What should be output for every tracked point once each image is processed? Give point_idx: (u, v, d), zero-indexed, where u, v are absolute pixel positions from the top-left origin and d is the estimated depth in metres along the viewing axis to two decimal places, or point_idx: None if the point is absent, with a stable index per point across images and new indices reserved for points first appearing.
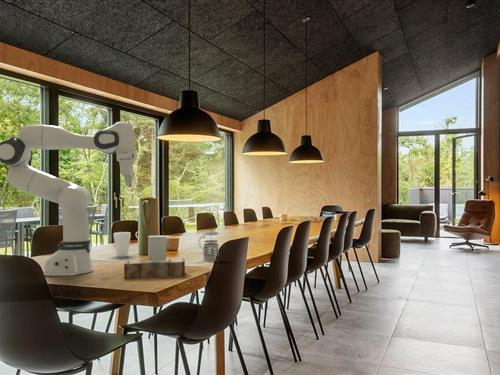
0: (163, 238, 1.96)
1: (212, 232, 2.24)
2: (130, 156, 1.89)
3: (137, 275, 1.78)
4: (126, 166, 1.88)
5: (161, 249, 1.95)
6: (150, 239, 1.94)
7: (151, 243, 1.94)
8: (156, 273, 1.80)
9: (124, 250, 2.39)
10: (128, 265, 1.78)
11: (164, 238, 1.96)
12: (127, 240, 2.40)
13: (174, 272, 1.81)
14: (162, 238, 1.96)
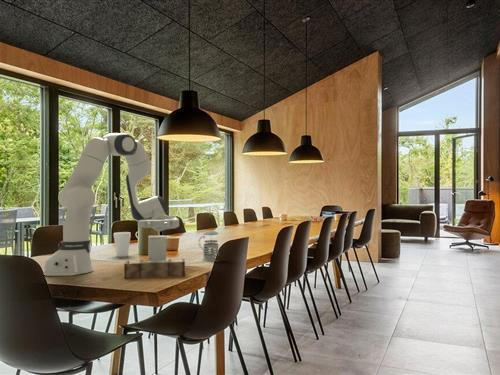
0: (163, 238, 1.96)
1: (212, 232, 2.24)
2: (176, 226, 2.20)
3: (137, 275, 1.78)
4: None
5: (161, 249, 1.95)
6: (150, 239, 1.94)
7: (151, 243, 1.94)
8: (156, 273, 1.80)
9: (124, 250, 2.39)
10: (128, 265, 1.78)
11: (164, 238, 1.96)
12: (127, 240, 2.40)
13: (174, 272, 1.81)
14: (162, 238, 1.96)
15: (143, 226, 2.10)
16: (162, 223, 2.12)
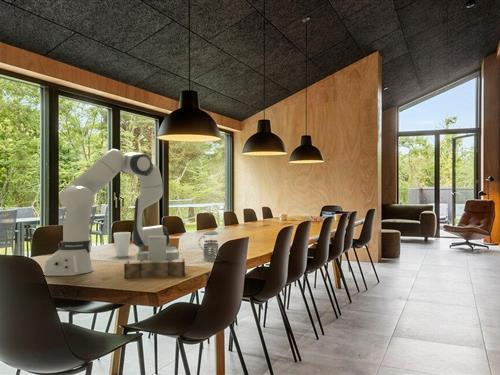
0: (163, 238, 1.95)
1: (212, 232, 2.24)
2: None
3: (137, 275, 1.78)
4: None
5: (161, 249, 1.95)
6: (150, 239, 1.94)
7: (151, 243, 1.94)
8: (156, 273, 1.80)
9: (124, 250, 2.39)
10: (128, 265, 1.78)
11: (164, 238, 1.96)
12: (127, 240, 2.40)
13: (174, 272, 1.81)
14: (162, 238, 1.95)
15: (142, 259, 2.04)
16: None
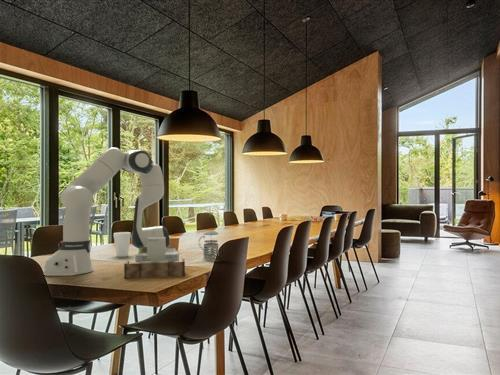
0: (162, 240, 1.89)
1: (212, 232, 2.24)
2: None
3: (137, 275, 1.78)
4: None
5: (159, 251, 1.89)
6: (148, 241, 1.88)
7: (149, 245, 1.88)
8: (156, 273, 1.80)
9: (124, 250, 2.39)
10: (128, 265, 1.78)
11: (163, 240, 1.89)
12: (127, 240, 2.40)
13: (174, 272, 1.81)
14: (161, 240, 1.89)
15: None
16: None
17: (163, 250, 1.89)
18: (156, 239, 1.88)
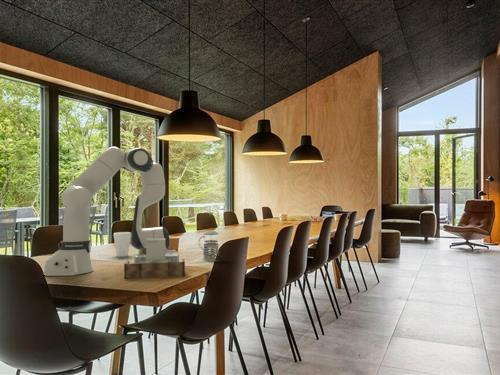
0: (161, 241, 1.84)
1: (212, 232, 2.24)
2: None
3: (137, 275, 1.78)
4: None
5: (159, 253, 1.83)
6: (147, 242, 1.83)
7: (148, 246, 1.83)
8: (156, 273, 1.80)
9: (124, 250, 2.39)
10: (128, 265, 1.78)
11: (162, 241, 1.84)
12: (127, 240, 2.40)
13: (174, 272, 1.81)
14: (160, 241, 1.84)
15: None
16: None
17: (163, 252, 1.84)
18: (155, 240, 1.83)
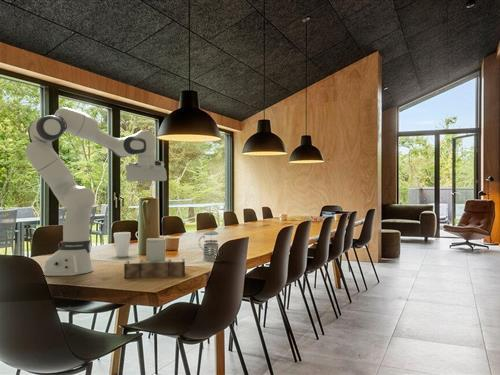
0: (161, 241, 1.84)
1: (212, 232, 2.24)
2: None
3: (137, 275, 1.78)
4: None
5: (159, 253, 1.83)
6: (147, 242, 1.83)
7: (148, 246, 1.83)
8: (156, 273, 1.80)
9: (124, 250, 2.39)
10: (128, 265, 1.78)
11: (162, 241, 1.84)
12: (127, 240, 2.40)
13: (174, 272, 1.81)
14: (160, 241, 1.84)
15: None
16: None
17: (163, 252, 1.84)
18: (155, 240, 1.83)
